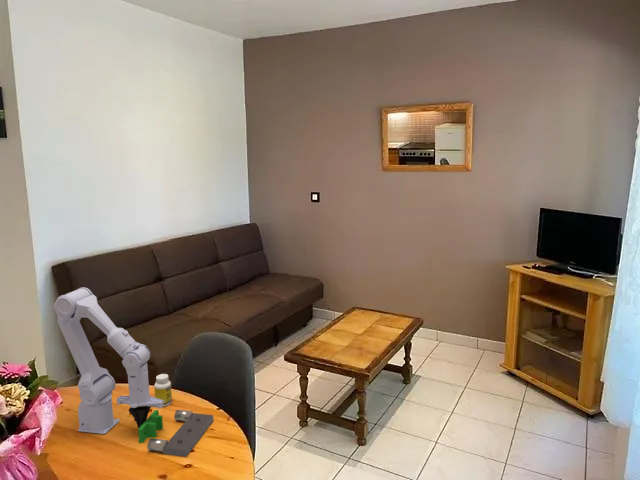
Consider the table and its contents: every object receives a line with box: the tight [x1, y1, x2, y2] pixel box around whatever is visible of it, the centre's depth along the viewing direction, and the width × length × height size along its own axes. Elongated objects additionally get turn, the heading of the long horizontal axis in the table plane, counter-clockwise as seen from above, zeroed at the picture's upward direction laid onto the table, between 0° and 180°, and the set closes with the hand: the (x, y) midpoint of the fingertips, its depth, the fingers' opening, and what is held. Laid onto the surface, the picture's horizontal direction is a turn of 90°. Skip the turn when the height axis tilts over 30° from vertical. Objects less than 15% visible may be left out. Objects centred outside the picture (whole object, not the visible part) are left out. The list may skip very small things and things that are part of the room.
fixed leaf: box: [146, 409, 214, 458], centre depth 149 cm, size 12×19×3 cm, turn 169°
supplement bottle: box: [153, 373, 173, 407], centre depth 168 cm, size 5×5×10 cm
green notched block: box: [137, 409, 164, 444], centre depth 151 cm, size 11×4×5 cm, turn 173°
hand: (142, 426), depth 151 cm, fingers closed
